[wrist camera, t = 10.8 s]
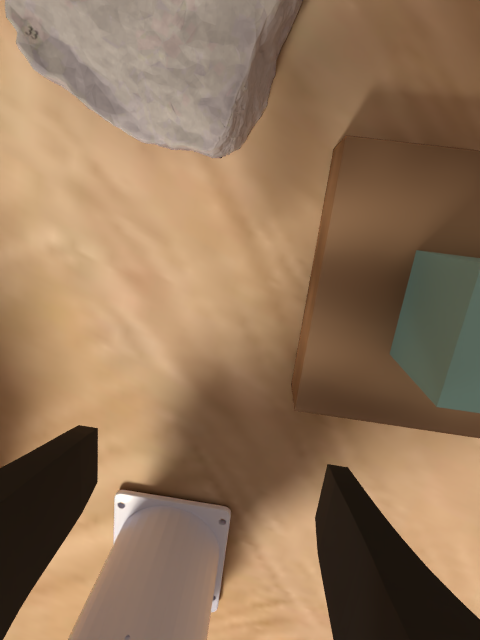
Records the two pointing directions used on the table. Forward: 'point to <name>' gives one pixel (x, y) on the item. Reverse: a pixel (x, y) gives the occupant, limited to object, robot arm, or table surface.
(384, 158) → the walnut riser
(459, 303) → the teal cube
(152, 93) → the stone block
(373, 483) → the table surface
